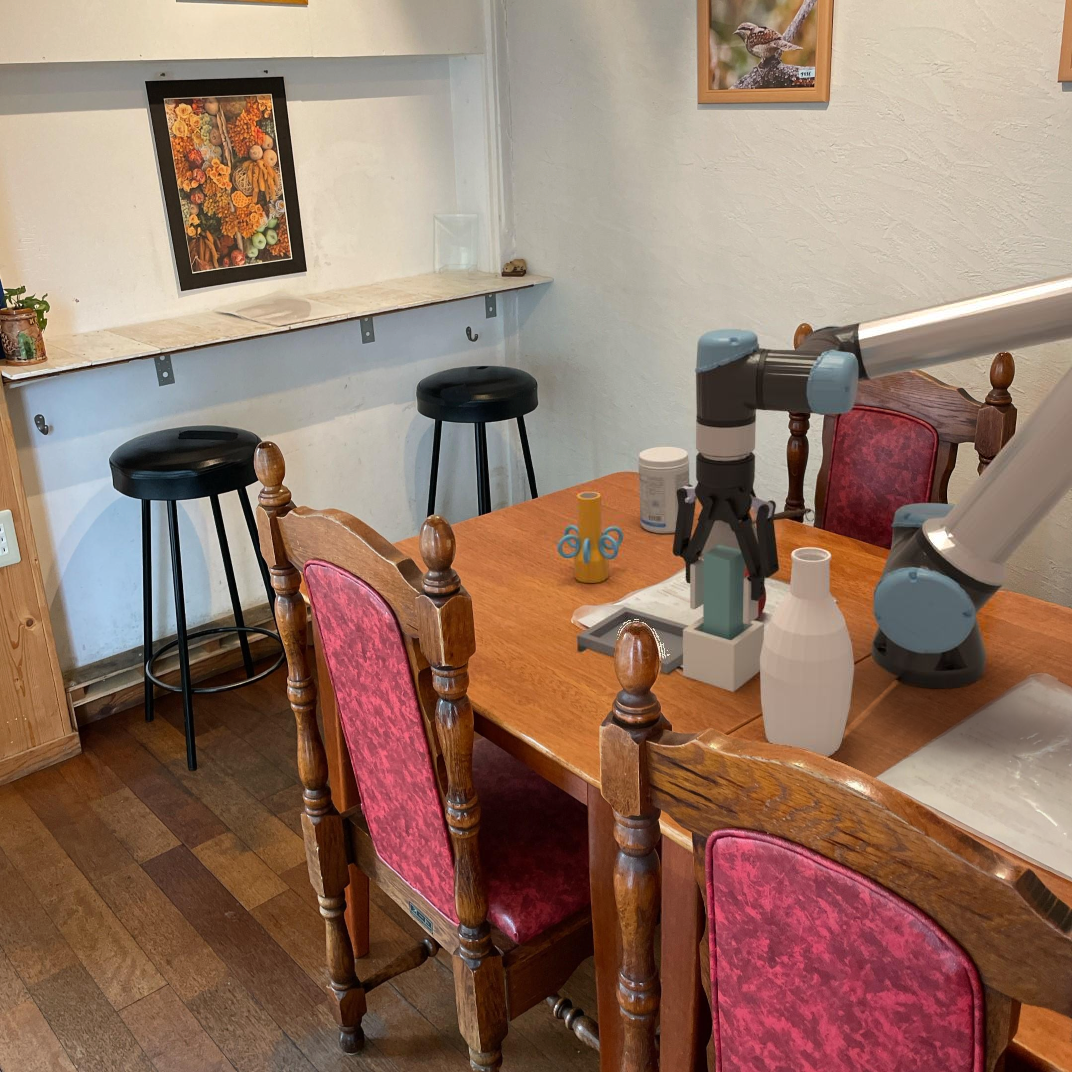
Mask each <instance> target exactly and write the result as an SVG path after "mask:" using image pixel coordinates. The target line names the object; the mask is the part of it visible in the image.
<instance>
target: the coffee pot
mask: <svg viewBox="0 0 1072 1072" xmlns="http://www.w3.org/2000/svg"><path fill="white" fill-rule="evenodd" d="M750 511H751V509H750V510H749V513H750ZM811 512H812V513H813V518H812V520H810V519H808V515H807V514H809V513H811ZM802 515H805V519H806V521H808V522H813V521H814V520H815V519H816V512H815V511H814V510H813V509H811V508H803V509H801V508H796V510H784V511H780V512H777V513H774V517H773V520H774V521H778V520H786V519H790V518H793V517H796V516H797V517H801V516H802ZM750 516H751V518H752V515H751V514H750ZM740 521H741V520H739V522H740ZM752 528H753V531H754V534H755V537H756V540H757V543H758V538H757V530H756V517H755V518H754V517H753V518H752ZM718 545H722V546H726V547H731V548H735V549H739V550H740V547H739V544H738V541H737V538H736V535H735V533H734V532H733V531H732V530H731V528H730V525H729V524H728V523H725V522H723V521H721V520H719V521H715V522H714V525H713V527H712V529H711V532H710V534H709V537H708V539H707V541H706V544H705V546H704V548H703V551H702V553H701V554H703V555H702V556H700V557H699V559H704V554H705V553H707V552H708V551H710V550H712V549H713V548H715V547H717V546H718ZM745 568H747V567H746V564H745Z"/></svg>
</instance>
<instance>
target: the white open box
mask: <svg viewBox="0 0 1072 1072" xmlns="http://www.w3.org/2000/svg"><path fill="white" fill-rule="evenodd" d="M764 636H765V622H761V621H759V620H755V621H754V620H753V621H752V622H750V623H749V624H745V623H744V632H742V633H741V634H740V635H738V636H737V637H735V638H734V639H733V640H728V639H725V638H721V637H718V636H714V635H711V634H708V633H704V632H703V616H701V618H698V619H697V620H696V621H694V622H693V623H691V624H690V625H688V627H687V628H685V629H684V630H683V664H682V676H684V677H687V678H689V679H693V680H696V681H699V682H702V683H704V684H708V685H710V686H713V687H717V688H720V689H723V690H726V691H730V692H733V693H734V692H736V690H738V689H739V688H740V687H742V686H744V684H746V683H747V682H748V681H749V680H751V679H752V678H753V677H754V676H755V675H757V674H758V673H760V655H761V650H762V645H763V640H764Z"/></svg>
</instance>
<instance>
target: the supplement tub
mask: <svg viewBox="0 0 1072 1072" xmlns="http://www.w3.org/2000/svg"><path fill="white" fill-rule="evenodd" d="M689 460H690V459H689V453H688V451H686V450H685V449H683V448H681V447H673V446H657V447H656V446H655V447H651V448H648V449H644V450H643V451H641V452H639V454H638V489H639V491H638V492H639V494H638V495H639V512H640V513H639V515H640V516H639V517H640V525H641V527H642V528H643V529H644V530H646V531H648V532H651V533H656V534H675V529H676V521H677V514H678V506H679V505H678V500H677V494H676V492H677V490H678V489H680V488H682V487H684V486H686V485H689V484H690V461H689Z"/></svg>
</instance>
